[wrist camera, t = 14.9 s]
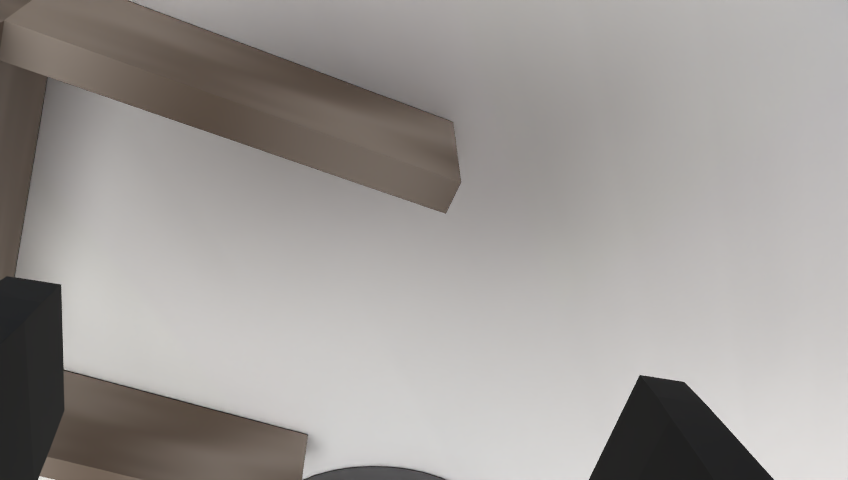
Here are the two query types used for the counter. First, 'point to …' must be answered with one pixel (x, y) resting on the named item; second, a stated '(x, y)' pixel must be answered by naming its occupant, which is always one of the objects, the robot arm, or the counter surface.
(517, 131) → the counter surface
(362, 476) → the coaster
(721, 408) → the counter surface
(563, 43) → the counter surface
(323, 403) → the counter surface
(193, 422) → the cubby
